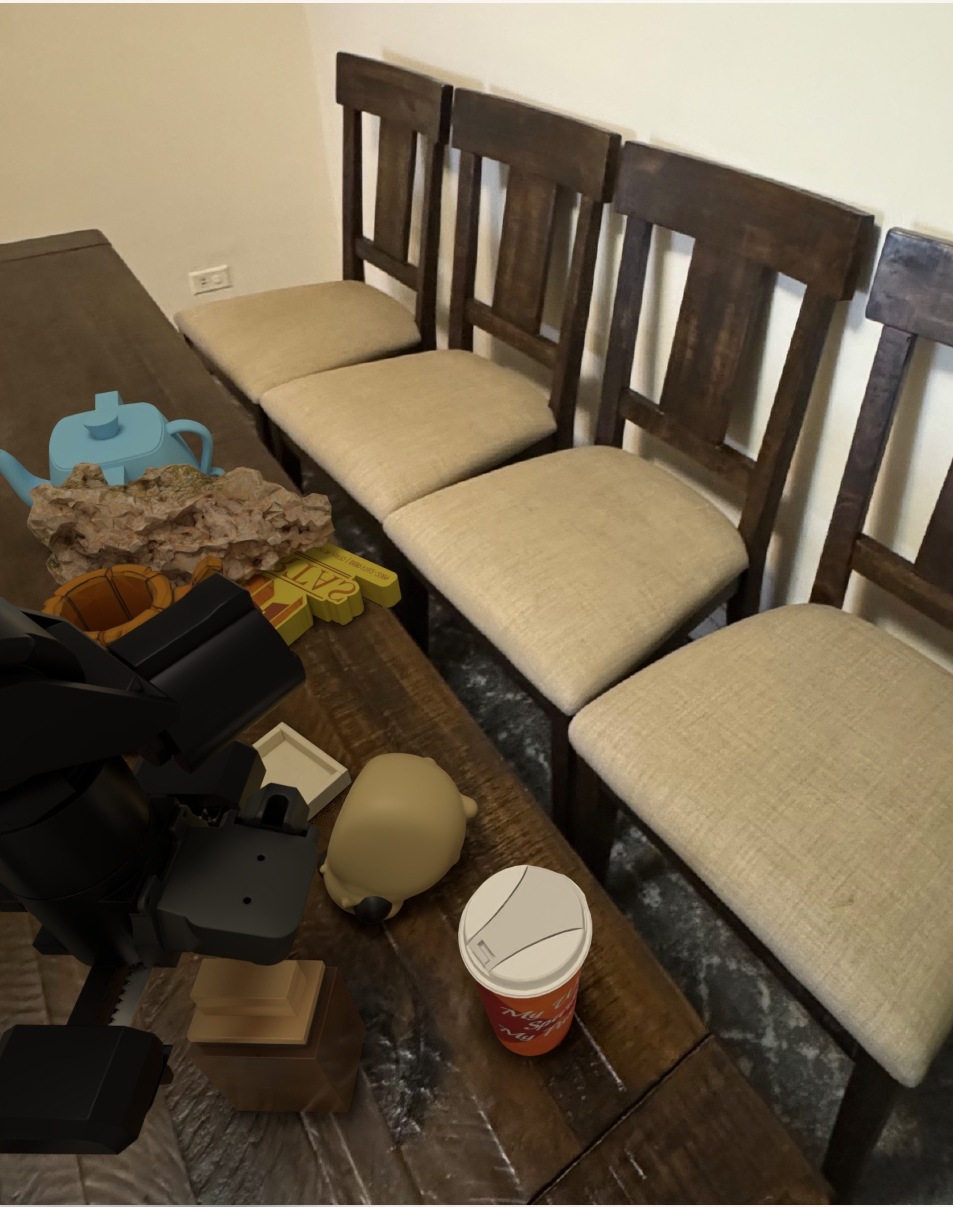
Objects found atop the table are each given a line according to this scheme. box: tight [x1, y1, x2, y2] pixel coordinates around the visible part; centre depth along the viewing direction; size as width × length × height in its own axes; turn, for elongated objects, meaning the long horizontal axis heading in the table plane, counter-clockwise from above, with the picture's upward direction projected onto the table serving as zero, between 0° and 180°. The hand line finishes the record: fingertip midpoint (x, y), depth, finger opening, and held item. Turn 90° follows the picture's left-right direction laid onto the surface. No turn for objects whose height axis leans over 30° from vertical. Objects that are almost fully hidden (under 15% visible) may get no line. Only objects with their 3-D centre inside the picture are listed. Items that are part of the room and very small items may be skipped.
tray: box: [251, 721, 352, 822], centre depth 66 cm, size 13×8×2 cm, turn 145°
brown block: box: [186, 966, 367, 1114], centre depth 50 cm, size 7×5×10 cm
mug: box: [39, 556, 263, 651], centre depth 70 cm, size 11×16×15 cm, turn 110°
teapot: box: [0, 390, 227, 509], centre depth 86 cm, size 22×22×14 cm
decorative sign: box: [235, 541, 402, 647], centre depth 83 cm, size 20×3×15 cm
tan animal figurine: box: [316, 752, 479, 925], centre depth 61 cm, size 10×12×11 cm
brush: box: [186, 957, 327, 1049], centre depth 45 cm, size 6×4×4 cm
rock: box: [26, 462, 336, 590], centre depth 79 cm, size 25×8×15 cm, turn 117°
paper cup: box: [457, 864, 593, 1057], centre depth 52 cm, size 8×8×14 cm
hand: (195, 985), depth 45 cm, fingers open, 9 cm apart
